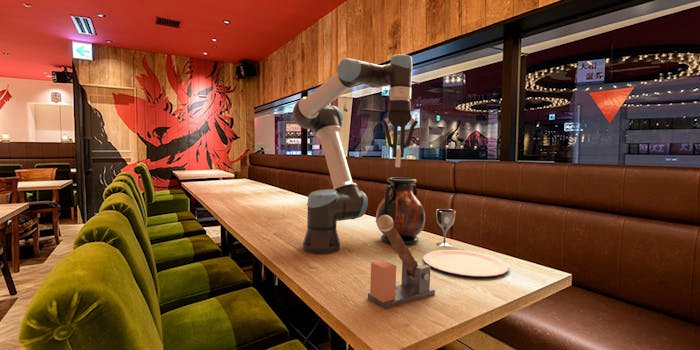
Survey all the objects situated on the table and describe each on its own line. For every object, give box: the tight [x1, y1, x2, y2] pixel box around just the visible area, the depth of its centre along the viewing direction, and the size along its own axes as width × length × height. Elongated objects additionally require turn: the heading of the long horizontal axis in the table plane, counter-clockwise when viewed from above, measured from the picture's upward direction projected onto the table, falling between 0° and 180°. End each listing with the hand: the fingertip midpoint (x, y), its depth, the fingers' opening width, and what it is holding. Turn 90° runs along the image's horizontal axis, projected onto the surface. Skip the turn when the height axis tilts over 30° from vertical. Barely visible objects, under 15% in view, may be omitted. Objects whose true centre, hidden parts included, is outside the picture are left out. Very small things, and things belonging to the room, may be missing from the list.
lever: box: [376, 215, 419, 278], centre depth 98 cm, size 4×4×23 cm
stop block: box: [369, 259, 397, 302], centre depth 95 cm, size 4×6×9 cm
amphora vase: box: [375, 176, 426, 247], centre depth 157 cm, size 22×22×28 cm
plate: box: [422, 249, 510, 278], centre depth 129 cm, size 29×29×2 cm
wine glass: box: [435, 208, 456, 248], centre depth 154 cm, size 8×8×15 cm
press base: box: [367, 260, 436, 310], centre depth 99 cm, size 18×9×8 cm, turn 124°
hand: (397, 166), depth 129 cm, fingers closed
